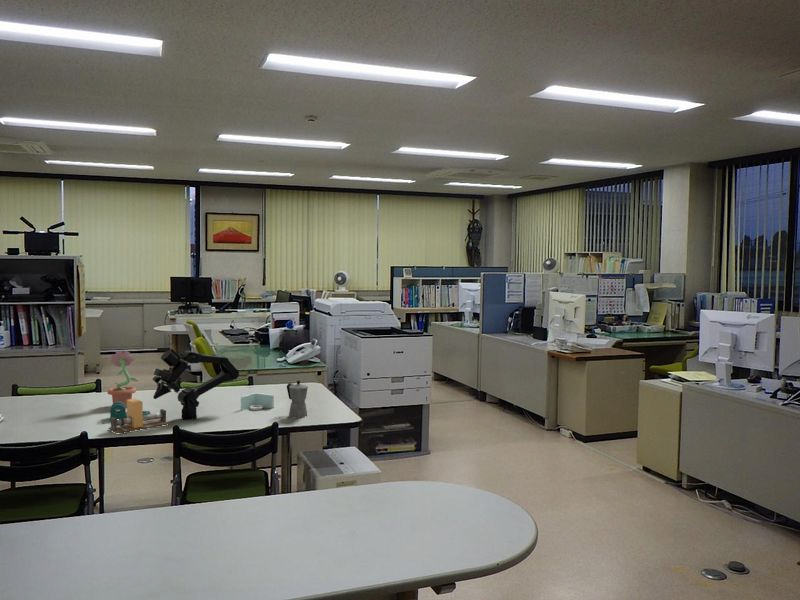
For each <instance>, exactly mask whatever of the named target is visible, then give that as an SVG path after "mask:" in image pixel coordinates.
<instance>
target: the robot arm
mask: <svg viewBox="0 0 800 600" xmlns="http://www.w3.org/2000/svg"><path fill="white" fill-rule="evenodd" d="M160 360H162V361H163V362H164V363H165V364H166V365H167V366H168V367H172V368H171V369H165V368H163V369H160V368H157V367H156V368H155V369H154V373H153V375H154V377H152V378H151V379H152V381H153V382H155V383H156V384H157V387H156V390H155V391H154V394H153V396H152V397H153V399H154V400H157V399H158V398H161V397H162V396H164V395H167V394H168V393H171V392H172V390H173V392H175V394H178V395H177V401H178V402H180V405H182V408H181V419H183V420H182V421H186V420H188V421H189V420H197V418H198V414H197V413H198V412H197V411H198V409H197V408H198V407H199V405H200V401H198V399H199V397H200V396H202V395H203V394H205V393H207V392H208V391H210V390H212V389H214V388H216V387H218V386H219V385H222V384H223V383H227V382H233V381H235V380H237V379H238V378H239V376H240V371H239V370H238V368H236V367H235V366H234V364H233V363H232V362H231V361H230V360H229V358H228V357H226V356H223V355H221V356H218V355H212V354H211V355H210V354H202V353H198V352H195V351H191V350H188V349H187V350H185V351H183V352H182V353H177V352H176V351H175V350H174V349H173V348H170V349H169V350H166V351H165V352H163V354H161V357H160ZM188 363H189V364H188ZM199 363H207V364H216V365H219V367H220V369H221V371H220V372H219V373H218V375H216V376H214V377H212V378H210V379H208V380H206V381H205V382H203V383H201V384H199V385H197V386H196V387H191V386H186V387H185V388H184V389H181V387H180V386H179V385H178V384H177V382H178V380H179V381H181V379H182V375H183V374H184V373H185V372H186V371H188V372H191V371H192V364H193V365H194V364H199Z"/></svg>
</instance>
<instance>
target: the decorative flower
mask: <svg viewBox="0 0 800 600" xmlns="http://www.w3.org/2000/svg"><path fill="white" fill-rule="evenodd" d="M129 355H131V352H130V351H127V350H125V351H123V350H117V351H116V352H115V354H114V353H113V354H111V357H110V360H109V362H110V363H111V364H112V365H113V366H115V367H118V368H121V370H120V371H118V372H117V375H116V376H120V375H122V374H124V375H125V376H124V377H125V378H126V381H123V382H120V383H118V382H117V383H115V382H114V384H115V385H116V386H115V387H110V388H109V389H108V390H107V394H108V395H109V396H110V395H111V398H112V399H111V401H112V404H113V403H115V402H122V403H124V404H125V406H126V408H127V400H129V399H133V394H135V393H137V388H136V387H135V386H127V385H128V384H129V383H131V382H132V381H133V382H139V380H138V379H137V378H134V377H131V376H130V374H129V372H128V370H127V366H130V365H131V363H132V362H134V360H135V357H133V356H132V357H130V356H129Z"/></svg>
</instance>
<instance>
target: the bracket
mask: <svg viewBox="0 0 800 600" xmlns="http://www.w3.org/2000/svg"><path fill="white" fill-rule="evenodd" d="M148 414H151V411H150V410H143V415H148ZM109 417H110V419H109V420H111V418H112V417H114V418H116V419H121V418H123V419H124V418H127V407H126V406H125V404H124V403H122V402H115V403H113V402H112V404H111V406H110V411H109Z"/></svg>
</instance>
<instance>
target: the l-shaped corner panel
mask: <svg viewBox="0 0 800 600" xmlns="http://www.w3.org/2000/svg"><path fill="white" fill-rule="evenodd" d="M274 407H275V395H273V394H268V393H261V392H253V393H249V394H247V395H243V396H241V397H240V410H241V411H244V410H247V409H249V410H250V411H262V410H263V408H267V409H274Z"/></svg>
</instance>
